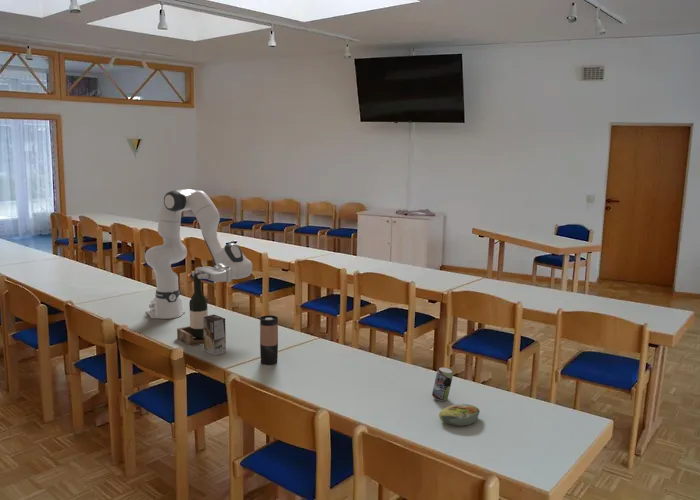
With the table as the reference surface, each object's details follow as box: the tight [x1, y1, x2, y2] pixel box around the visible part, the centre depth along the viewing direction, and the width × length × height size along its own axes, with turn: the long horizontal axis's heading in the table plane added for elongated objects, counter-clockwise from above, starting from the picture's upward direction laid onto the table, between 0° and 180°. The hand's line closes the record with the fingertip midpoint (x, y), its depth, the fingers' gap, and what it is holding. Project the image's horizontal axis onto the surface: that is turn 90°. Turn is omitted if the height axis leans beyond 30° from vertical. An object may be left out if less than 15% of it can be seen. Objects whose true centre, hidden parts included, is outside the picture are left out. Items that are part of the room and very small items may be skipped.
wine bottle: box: [188, 272, 209, 337], centre depth 291 cm, size 8×8×30 cm
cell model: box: [438, 403, 481, 426], centre depth 214 cm, size 11×8×15 cm
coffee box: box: [203, 314, 227, 356], centre depth 277 cm, size 9×6×16 cm
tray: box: [176, 325, 204, 347], centre depth 294 cm, size 14×14×5 cm
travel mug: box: [259, 315, 279, 366], centre depth 265 cm, size 8×8×20 cm
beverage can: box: [431, 366, 454, 402], centre depth 231 cm, size 6×7×12 cm
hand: (195, 276), depth 288 cm, fingers open, 3 cm apart
